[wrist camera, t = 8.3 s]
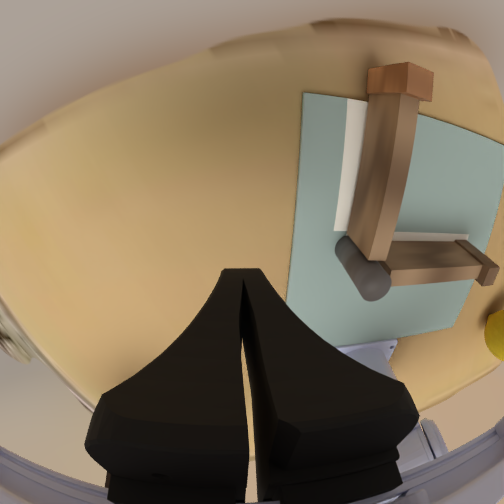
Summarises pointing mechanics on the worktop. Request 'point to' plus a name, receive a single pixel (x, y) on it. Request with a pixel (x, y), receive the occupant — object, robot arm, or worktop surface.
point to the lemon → (495, 334)
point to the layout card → (407, 228)
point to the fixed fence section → (414, 265)
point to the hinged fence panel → (386, 154)
